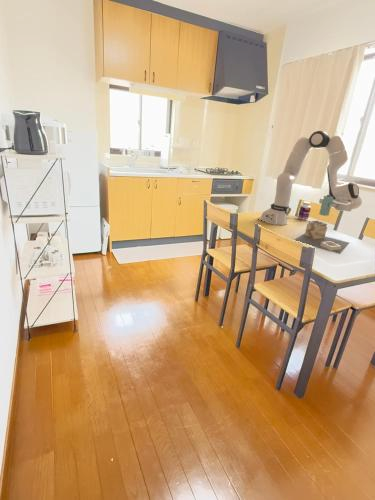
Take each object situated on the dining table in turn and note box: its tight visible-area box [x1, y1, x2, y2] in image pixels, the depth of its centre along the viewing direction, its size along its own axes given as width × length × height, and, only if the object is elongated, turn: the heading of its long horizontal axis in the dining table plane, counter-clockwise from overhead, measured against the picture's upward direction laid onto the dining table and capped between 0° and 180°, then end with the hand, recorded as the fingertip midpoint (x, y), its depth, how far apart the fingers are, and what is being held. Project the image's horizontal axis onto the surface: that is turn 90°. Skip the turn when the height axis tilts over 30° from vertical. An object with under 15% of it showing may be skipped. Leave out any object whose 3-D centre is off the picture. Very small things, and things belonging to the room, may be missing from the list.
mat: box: [294, 232, 350, 255], centre depth 179 cm, size 28×28×1 cm
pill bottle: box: [297, 201, 312, 221], centre depth 230 cm, size 8×8×14 cm
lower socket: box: [320, 241, 341, 252], centre depth 169 cm, size 8×8×2 cm
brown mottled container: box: [304, 220, 328, 239], centre depth 186 cm, size 9×9×10 cm
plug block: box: [318, 194, 333, 217], centre depth 176 cm, size 4×4×13 cm
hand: (325, 204), depth 176 cm, fingers closed on plug block, 4 cm apart
